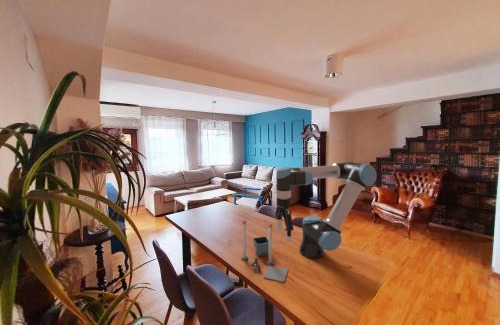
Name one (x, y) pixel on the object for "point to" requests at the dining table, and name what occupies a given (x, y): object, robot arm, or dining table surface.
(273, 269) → the tile
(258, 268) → the bent rail
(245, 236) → the post
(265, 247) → the flower pot
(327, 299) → the dining table surface
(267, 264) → the post
